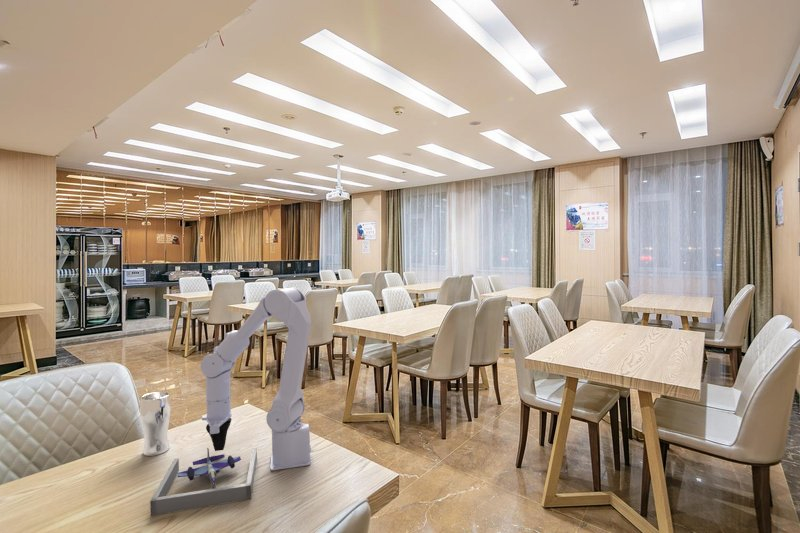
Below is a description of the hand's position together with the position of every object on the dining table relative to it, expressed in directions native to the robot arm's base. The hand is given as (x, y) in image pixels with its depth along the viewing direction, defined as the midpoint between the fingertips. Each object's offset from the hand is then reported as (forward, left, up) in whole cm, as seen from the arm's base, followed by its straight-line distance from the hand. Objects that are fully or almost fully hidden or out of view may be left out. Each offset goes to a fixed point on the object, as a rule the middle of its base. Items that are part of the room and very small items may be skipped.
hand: (219, 449), depth 103 cm
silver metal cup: (+17, -8, -2) cm, 19 cm away
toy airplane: (0, +12, -2) cm, 12 cm away
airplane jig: (0, +14, -2) cm, 14 cm away
